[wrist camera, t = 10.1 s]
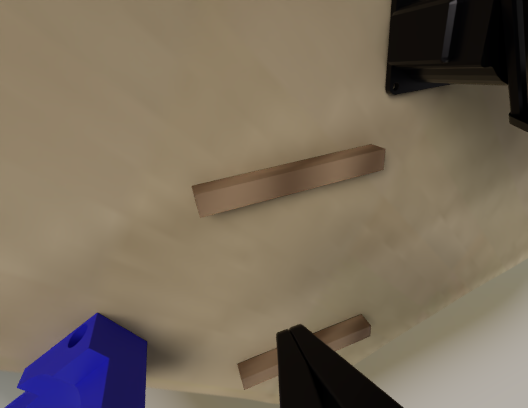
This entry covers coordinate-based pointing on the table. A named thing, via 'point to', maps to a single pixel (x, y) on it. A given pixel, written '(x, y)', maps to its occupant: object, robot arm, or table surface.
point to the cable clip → (88, 370)
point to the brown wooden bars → (280, 184)
